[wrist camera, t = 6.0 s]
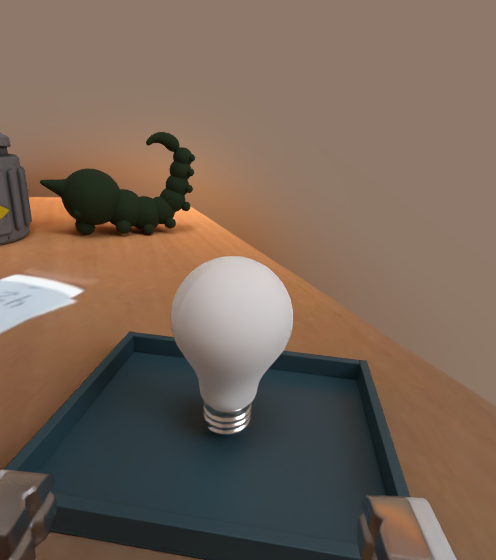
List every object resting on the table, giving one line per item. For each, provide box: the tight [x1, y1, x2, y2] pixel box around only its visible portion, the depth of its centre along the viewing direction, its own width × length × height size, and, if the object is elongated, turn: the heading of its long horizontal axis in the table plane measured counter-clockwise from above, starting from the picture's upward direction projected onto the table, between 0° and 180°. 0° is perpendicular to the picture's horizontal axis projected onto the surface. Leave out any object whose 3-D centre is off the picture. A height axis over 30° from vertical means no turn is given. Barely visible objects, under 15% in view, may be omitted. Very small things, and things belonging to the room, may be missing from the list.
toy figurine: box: [40, 132, 195, 235], centre depth 65 cm, size 9×19×25 cm
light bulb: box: [171, 256, 293, 435], centre depth 21 cm, size 7×7×11 cm
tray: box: [4, 332, 410, 560], centre depth 23 cm, size 19×15×2 cm
